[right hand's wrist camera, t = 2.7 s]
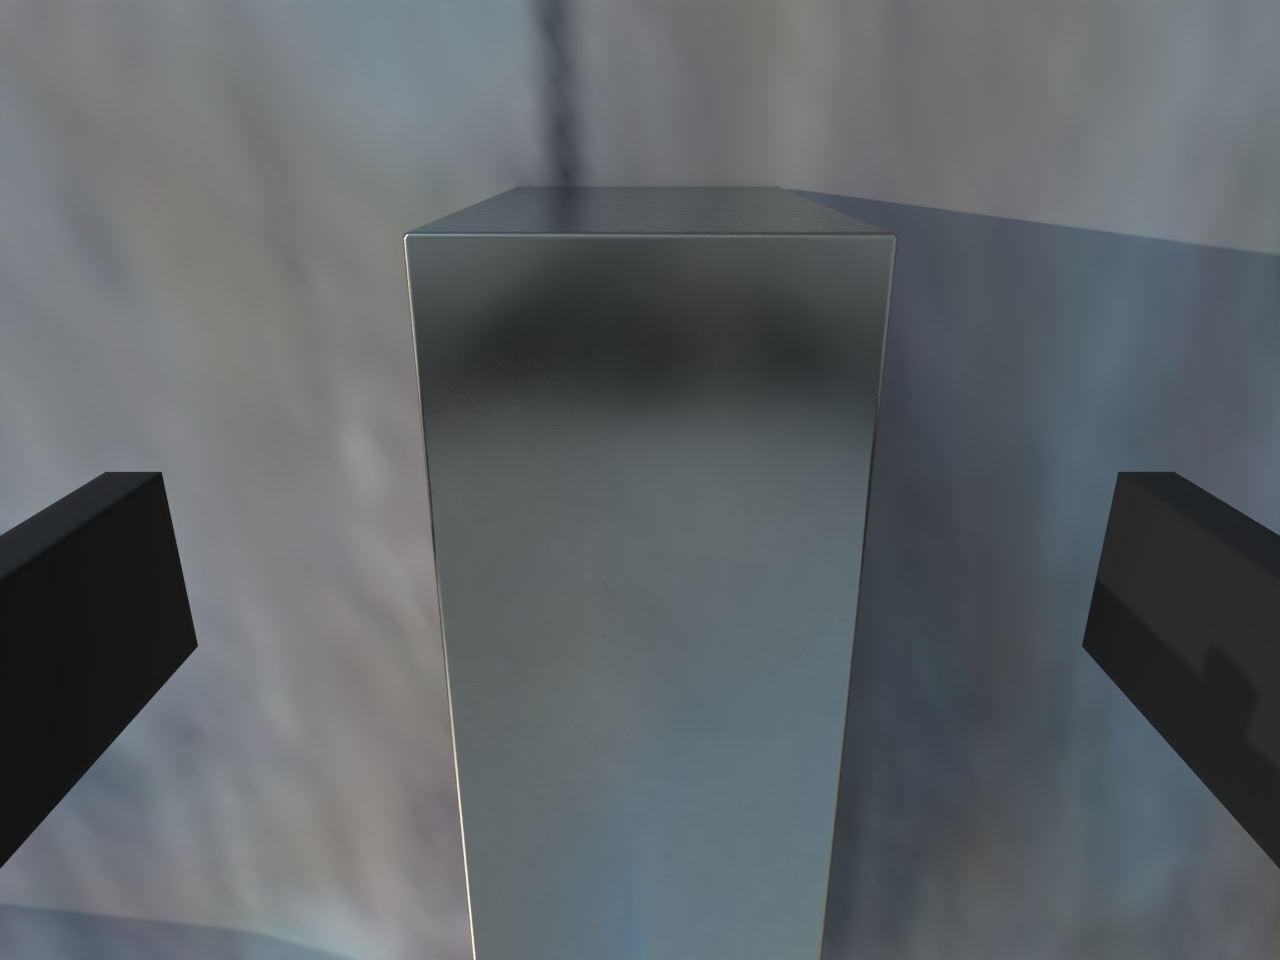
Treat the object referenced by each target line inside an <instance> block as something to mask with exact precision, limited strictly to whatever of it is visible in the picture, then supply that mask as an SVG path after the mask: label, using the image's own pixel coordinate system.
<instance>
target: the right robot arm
mask: <svg viewBox="0 0 1280 960" xmlns="http://www.w3.org/2000/svg"><path fill="white" fill-rule="evenodd" d="M197 647H198V644H197V639H196V635H195V630H194V625H193V620H192V615H191V611H190V606H189V601H188V596H187V591H186V587H185V582H184V577H183V572H182V567H181V563H180V558H179V553H178V548H177V544H176V539H175V534H174V529H173V524H172V520H171V515H170V510H169V505H168V500H167V496H166V491H165V486H164V481H163V476H162V472H105V473H103V474H102V475H100V476H98V477H97V478H95V479H93V480H92V481H90V482H88V483H87V484H85V485H83V486H82V487H80V488H78V489H77V490H75V491H74V492H72V493H70V494H69V495H67V496H65V497H64V498H62V499H60V500H59V501H57V502H55V503H54V504H52V505H50V506H49V507H47V508H45V509H44V510H42V511H40V512H39V513H37V514H36V515H34V516H32V517H31V518H29V519H27V520H26V521H24V522H22V523H21V524H19V525H17V526H16V527H14V528H12V529H11V530H9V531H7V532H6V533H4V534H3V535H1V536H0V868H1V867H2V866H3V865H4V864H5V863H6V862H7V860H8V859H9V858H10V857H11V856H12V855H13V854H14V853H15V851H16V850H17V849H18V848H19V847H20V846H21V845H22V844H23V842H24V841H25V840H26V839H27V838H28V837H29V836H30V835H31V833H32V832H33V831H34V830H35V829H36V828H37V827H38V826H39V824H40V823H41V822H42V821H43V820H44V819H45V818H46V817H47V815H48V814H49V813H50V812H51V811H52V810H53V809H54V808H55V806H56V805H57V804H58V803H59V802H60V801H61V800H62V799H63V797H64V796H65V795H66V794H67V793H68V792H69V791H70V790H71V788H72V787H73V786H74V785H75V784H76V783H77V782H78V781H79V779H80V778H81V777H82V776H83V775H84V774H85V773H86V772H87V770H88V769H89V768H90V767H91V766H92V765H93V764H94V763H95V761H96V760H97V759H98V758H99V757H100V756H101V755H102V754H103V752H104V751H105V750H106V749H107V748H108V747H109V746H110V745H111V743H112V742H113V741H114V740H115V739H116V738H117V737H118V736H119V734H120V733H121V732H122V731H123V730H124V729H125V728H126V727H127V725H128V724H129V723H130V722H131V721H132V720H133V719H134V718H135V716H136V715H137V714H138V713H139V712H140V711H141V710H142V709H143V707H144V706H145V705H146V704H147V703H148V702H149V701H150V700H151V698H152V697H153V696H154V695H155V694H156V693H157V692H158V691H159V689H160V688H161V687H162V686H163V685H164V684H165V683H166V682H167V680H168V679H169V678H170V677H171V676H172V675H173V674H174V673H175V671H176V670H177V669H178V668H179V667H180V666H181V665H182V664H183V662H184V661H185V660H186V659H187V658H188V657H189V656H190V655H191V653H192V652H193V651H194V650H195V649H196V648H197ZM1082 647H1083V648H1084V649H1085V650H1086V651H1087V652H1088V653H1089V655H1090V656H1091V657H1092V658H1093V659H1094V660H1095V661H1096V662H1097V664H1098V665H1099V666H1100V667H1101V668H1102V669H1103V670H1104V671H1105V673H1106V674H1107V675H1108V676H1109V677H1110V678H1111V679H1112V680H1113V682H1114V683H1115V684H1116V685H1117V686H1118V687H1119V688H1120V689H1121V691H1122V692H1123V693H1124V694H1125V695H1126V696H1127V697H1128V698H1129V700H1130V701H1131V702H1132V703H1133V704H1134V705H1135V706H1136V707H1137V709H1138V710H1139V711H1140V712H1141V713H1142V714H1143V715H1144V716H1145V718H1146V719H1147V720H1148V721H1149V722H1150V723H1151V724H1152V725H1153V727H1154V728H1155V729H1156V730H1157V731H1158V732H1159V733H1160V734H1161V736H1162V737H1163V738H1164V739H1165V740H1166V741H1167V742H1168V743H1169V745H1170V746H1171V747H1172V748H1173V749H1174V750H1175V751H1176V752H1177V754H1178V755H1179V756H1180V757H1181V758H1182V759H1183V760H1184V761H1185V763H1186V764H1187V765H1188V766H1189V767H1190V768H1191V769H1192V770H1193V772H1194V773H1195V774H1196V775H1197V776H1198V777H1199V778H1200V779H1201V781H1202V782H1203V783H1204V784H1205V785H1206V786H1207V787H1208V788H1209V790H1210V791H1211V792H1212V793H1213V794H1214V795H1215V796H1216V797H1217V799H1218V800H1219V801H1220V802H1221V803H1222V804H1223V805H1224V806H1225V808H1226V809H1227V810H1228V811H1229V812H1230V813H1231V814H1232V815H1233V817H1234V818H1235V819H1236V820H1237V821H1238V822H1239V823H1240V824H1241V826H1242V827H1243V828H1244V829H1245V830H1246V831H1247V832H1248V833H1249V835H1250V836H1251V837H1252V838H1253V839H1254V840H1255V841H1256V842H1257V844H1258V845H1259V846H1260V847H1261V848H1262V849H1263V850H1264V851H1265V853H1266V854H1267V855H1268V856H1269V857H1270V858H1271V859H1272V860H1273V862H1274V863H1275V864H1276V865H1277V866H1278V867H1279V868H1280V536H1279V535H1277V534H1276V533H1274V532H1273V531H1271V530H1269V529H1268V528H1266V527H1264V526H1263V525H1261V524H1259V523H1258V522H1256V521H1254V520H1253V519H1251V518H1249V517H1248V516H1246V515H1244V514H1243V513H1241V512H1240V511H1238V510H1236V509H1235V508H1233V507H1231V506H1230V505H1228V504H1226V503H1225V502H1223V501H1221V500H1220V499H1218V498H1216V497H1215V496H1213V495H1211V494H1210V493H1208V492H1206V491H1205V490H1203V489H1202V488H1200V487H1198V486H1197V485H1195V484H1193V483H1192V482H1190V481H1188V480H1187V479H1185V478H1183V477H1182V476H1180V475H1178V474H1177V473H1175V472H1118V476H1117V481H1116V486H1115V491H1114V496H1113V500H1112V505H1111V510H1110V515H1109V520H1108V524H1107V529H1106V534H1105V539H1104V544H1103V548H1102V553H1101V558H1100V563H1099V567H1098V572H1097V577H1096V582H1095V587H1094V591H1093V596H1092V601H1091V606H1090V611H1089V615H1088V620H1087V625H1086V630H1085V635H1084V639H1083V644H1082Z"/></svg>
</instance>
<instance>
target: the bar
mask: <svg viewBox="0 0 1280 960" xmlns="http://www.w3.org/2000/svg"><path fill="white" fill-rule="evenodd" d="M897 240H898V238H897V235H896V234H895V233H893V232H891V231H888V230H886V229H883V228H881V227H878V226H875V225H873V224H870V223H868V222H865V221H863V220H860V219H858V218H855V217H853V216H850V215H848V214H845V213H842V212H840V211H837V210H835V209H832V208H830V207H827V206H825V205H822V204H820V203H817V202H815V201H812V200H810V199H807V198H804V197H802V196H799V195H797V194H794V193H792V192H789V191H787V190H784V189H782V188H779V187H516V188H513V189H511V190H509V191H506V192H504V193H501V194H499V195H496V196H494V197H492V198H489V199H487V200H484V201H482V202H480V203H477V204H475V205H472V206H470V207H467V208H465V209H463V210H460V211H458V212H455V213H453V214H451V215H448V216H446V217H443V218H441V219H438V220H436V221H434V222H431V223H429V224H426V225H424V226H421V227H419V228H417V229H414V230H412V231H409V232H407V233H405V234H404V237H403V244H404V255H405V265H406V275H407V286H408V296H409V306H410V316H411V327H412V337H413V347H414V357H415V368H416V378H417V388H418V398H419V409H420V419H421V429H422V439H423V450H424V460H425V470H426V481H427V491H428V501H429V511H430V522H431V532H432V542H433V552H434V563H435V573H436V583H437V593H438V604H439V614H440V624H441V634H442V645H443V655H444V665H445V676H446V686H447V696H448V706H449V717H450V727H451V737H452V747H453V758H454V768H455V778H456V788H457V799H458V809H459V819H460V829H461V840H462V850H463V860H464V871H465V881H466V891H467V901H468V912H469V922H470V932H471V942H472V953H473V960H821V958H822V949H823V939H824V930H825V920H826V911H827V901H828V892H829V883H830V873H831V864H832V854H833V845H834V835H835V826H836V816H837V807H838V798H839V788H840V779H841V769H842V760H843V750H844V741H845V731H846V722H847V713H848V703H849V694H850V684H851V675H852V665H853V656H854V646H855V637H856V628H857V618H858V609H859V599H860V590H861V580H862V571H863V561H864V552H865V543H866V533H867V524H868V514H869V505H870V495H871V486H872V476H873V467H874V458H875V448H876V439H877V429H878V420H879V410H880V401H881V391H882V382H883V372H884V363H885V354H886V344H887V335H888V325H889V316H890V306H891V297H892V287H893V278H894V269H895V259H896V250H897Z"/></svg>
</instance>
